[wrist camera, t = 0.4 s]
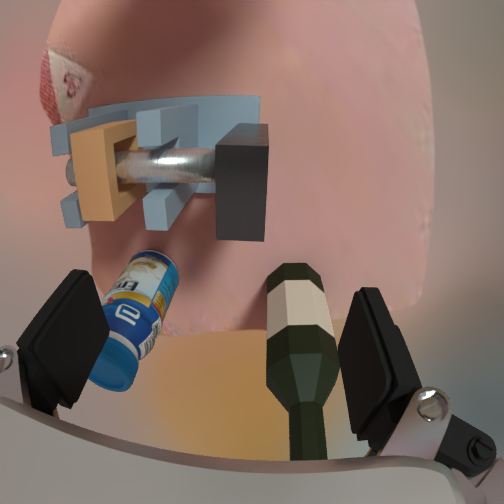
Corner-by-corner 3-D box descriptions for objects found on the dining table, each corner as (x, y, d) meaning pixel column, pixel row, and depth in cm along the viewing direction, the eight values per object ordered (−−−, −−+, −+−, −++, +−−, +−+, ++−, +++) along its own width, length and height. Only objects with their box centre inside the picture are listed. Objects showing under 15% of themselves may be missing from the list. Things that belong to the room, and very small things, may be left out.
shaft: (109, 178, 32) (34, 232, 19) (104, 130, 29) (19, 162, 16) (265, 178, 31) (264, 241, 19) (267, 124, 28) (268, 146, 16)
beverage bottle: (156, 301, 47) (113, 402, 29) (120, 265, 43) (58, 359, 26) (192, 278, 44) (154, 389, 26) (153, 237, 41) (89, 337, 23)
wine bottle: (257, 297, 45) (244, 499, 19) (278, 253, 41) (286, 480, 15) (306, 312, 46) (325, 502, 20) (331, 271, 42) (380, 479, 16)
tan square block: (119, 191, 30) (82, 220, 24) (112, 121, 26) (70, 134, 20) (146, 191, 30) (114, 221, 23) (141, 118, 26) (103, 129, 19)
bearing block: (100, 190, 37) (41, 236, 25) (92, 107, 31) (21, 124, 19) (256, 191, 37) (250, 245, 25) (260, 96, 31) (255, 94, 19)
